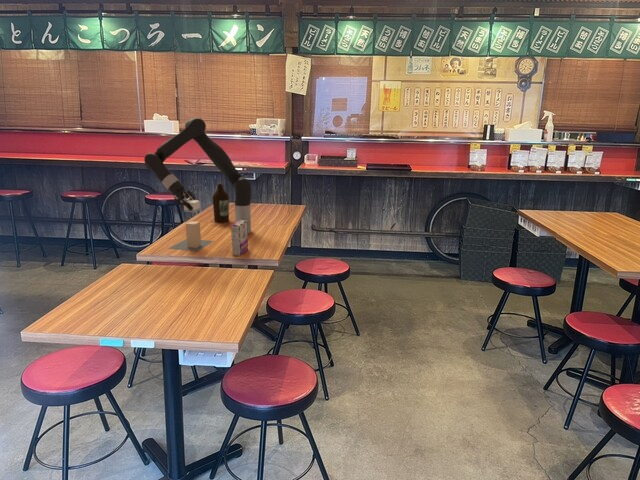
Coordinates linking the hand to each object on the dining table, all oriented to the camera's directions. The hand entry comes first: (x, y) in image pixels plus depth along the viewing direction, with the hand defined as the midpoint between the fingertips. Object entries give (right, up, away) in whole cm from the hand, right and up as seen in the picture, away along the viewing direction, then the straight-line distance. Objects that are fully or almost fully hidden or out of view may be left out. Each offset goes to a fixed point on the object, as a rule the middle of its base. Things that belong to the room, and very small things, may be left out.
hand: (194, 208), depth 257 cm
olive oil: (+1, -4, +65) cm, 65 cm away
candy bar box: (+24, -24, -1) cm, 34 cm away
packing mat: (-4, -20, +9) cm, 22 cm away
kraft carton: (-2, -20, +6) cm, 21 cm away
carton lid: (-2, -1, +1) cm, 2 cm away
